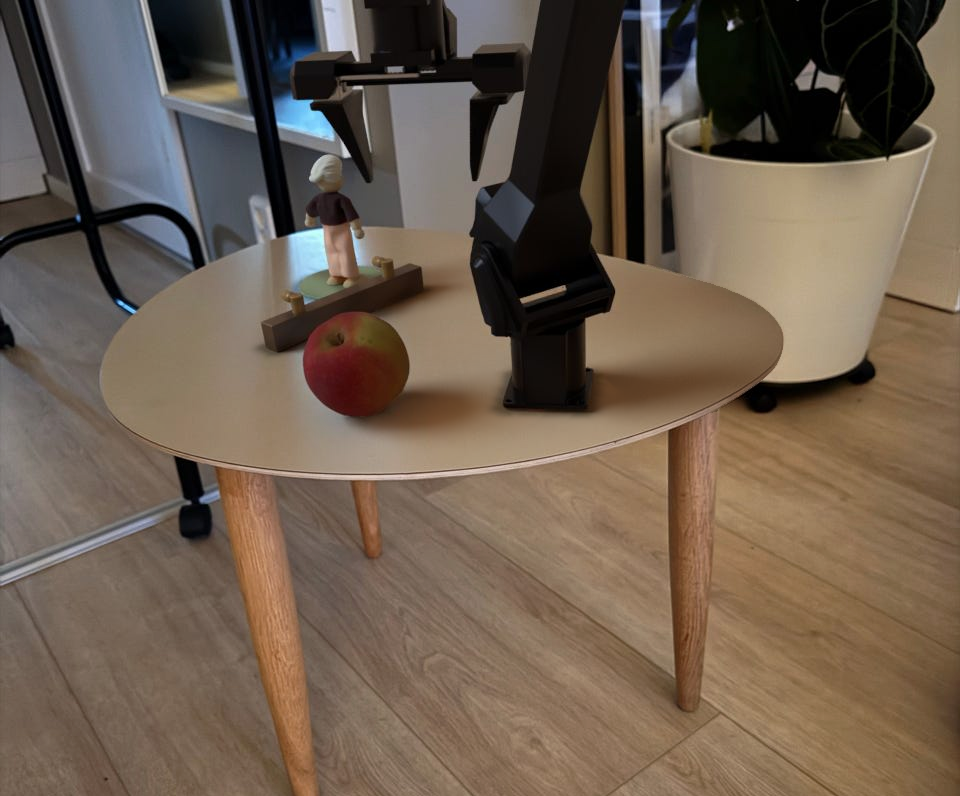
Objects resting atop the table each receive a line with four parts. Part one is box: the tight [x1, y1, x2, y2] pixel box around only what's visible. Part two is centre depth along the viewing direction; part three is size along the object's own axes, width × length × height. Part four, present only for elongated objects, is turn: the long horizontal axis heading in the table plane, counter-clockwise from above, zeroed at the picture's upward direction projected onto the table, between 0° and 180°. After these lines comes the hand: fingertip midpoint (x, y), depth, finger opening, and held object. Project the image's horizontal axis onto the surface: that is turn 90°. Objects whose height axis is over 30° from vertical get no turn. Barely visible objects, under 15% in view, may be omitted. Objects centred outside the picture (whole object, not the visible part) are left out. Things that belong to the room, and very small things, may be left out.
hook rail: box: [260, 255, 425, 353], centre depth 92 cm, size 19×13×4 cm
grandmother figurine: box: [304, 154, 368, 288], centre depth 94 cm, size 8×4×13 cm, turn 65°
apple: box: [302, 312, 411, 418], centre depth 71 cm, size 8×8×8 cm
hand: (422, 181), depth 80 cm, fingers open, 9 cm apart
